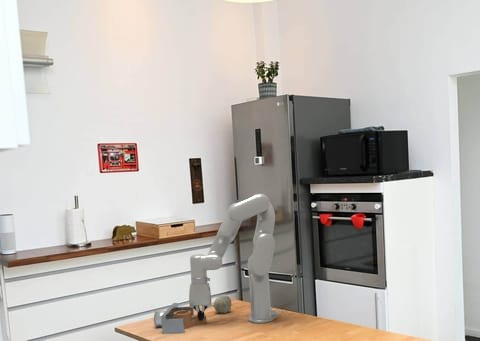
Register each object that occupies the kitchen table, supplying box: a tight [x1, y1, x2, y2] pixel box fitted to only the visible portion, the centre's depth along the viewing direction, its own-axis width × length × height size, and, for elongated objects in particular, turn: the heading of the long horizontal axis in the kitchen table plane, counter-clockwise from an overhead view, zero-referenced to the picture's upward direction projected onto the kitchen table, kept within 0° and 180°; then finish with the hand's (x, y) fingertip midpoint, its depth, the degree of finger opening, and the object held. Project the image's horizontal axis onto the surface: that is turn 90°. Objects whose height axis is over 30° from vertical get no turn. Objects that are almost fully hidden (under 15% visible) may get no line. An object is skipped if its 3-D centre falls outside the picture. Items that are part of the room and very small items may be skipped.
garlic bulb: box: [211, 294, 232, 314], centre depth 247 cm, size 9×8×10 cm
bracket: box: [174, 310, 208, 330], centre depth 230 cm, size 18×8×7 cm, turn 140°
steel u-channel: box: [153, 302, 195, 335], centre depth 228 cm, size 16×24×8 cm, turn 175°
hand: (201, 319), depth 227 cm, fingers closed
